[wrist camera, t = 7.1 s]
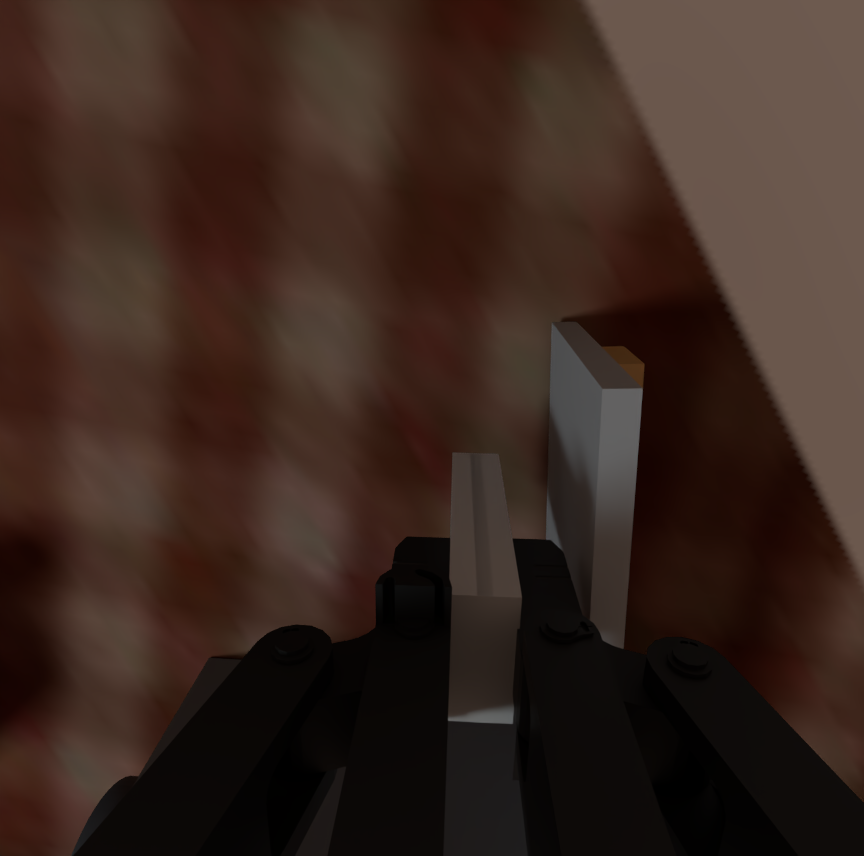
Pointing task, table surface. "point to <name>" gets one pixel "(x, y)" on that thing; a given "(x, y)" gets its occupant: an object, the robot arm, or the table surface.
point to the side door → (594, 469)
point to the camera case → (465, 777)
